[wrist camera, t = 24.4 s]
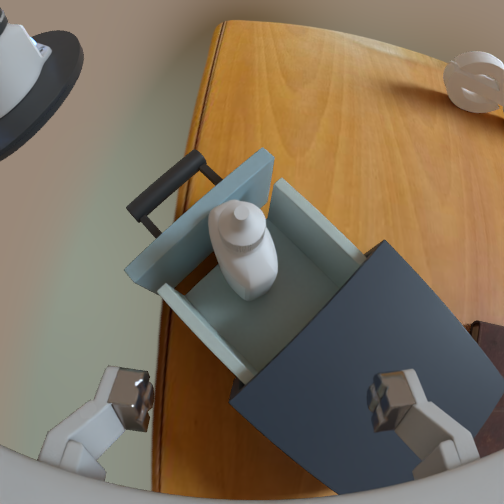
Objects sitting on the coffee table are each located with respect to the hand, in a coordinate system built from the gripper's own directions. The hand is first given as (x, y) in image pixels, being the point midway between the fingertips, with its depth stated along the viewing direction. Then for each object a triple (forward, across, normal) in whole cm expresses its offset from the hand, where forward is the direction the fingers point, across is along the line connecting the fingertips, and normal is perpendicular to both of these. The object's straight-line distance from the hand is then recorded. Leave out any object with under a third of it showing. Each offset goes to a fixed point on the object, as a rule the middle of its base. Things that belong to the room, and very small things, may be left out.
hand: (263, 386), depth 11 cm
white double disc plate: (+34, -35, -10) cm, 50 cm away
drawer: (+16, +1, +6) cm, 17 cm away
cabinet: (+10, -9, +14) cm, 19 cm away
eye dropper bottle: (+15, +1, +5) cm, 16 cm away
